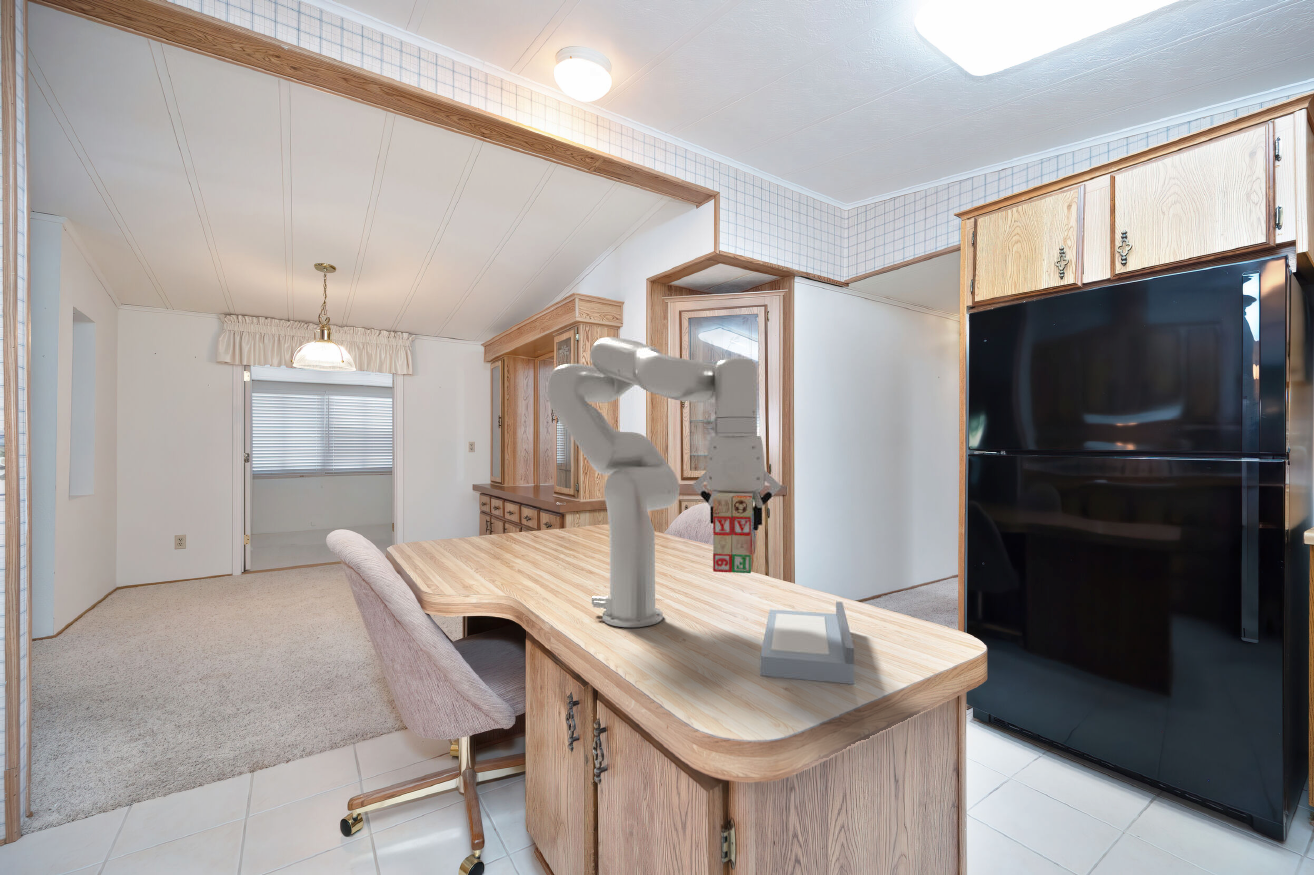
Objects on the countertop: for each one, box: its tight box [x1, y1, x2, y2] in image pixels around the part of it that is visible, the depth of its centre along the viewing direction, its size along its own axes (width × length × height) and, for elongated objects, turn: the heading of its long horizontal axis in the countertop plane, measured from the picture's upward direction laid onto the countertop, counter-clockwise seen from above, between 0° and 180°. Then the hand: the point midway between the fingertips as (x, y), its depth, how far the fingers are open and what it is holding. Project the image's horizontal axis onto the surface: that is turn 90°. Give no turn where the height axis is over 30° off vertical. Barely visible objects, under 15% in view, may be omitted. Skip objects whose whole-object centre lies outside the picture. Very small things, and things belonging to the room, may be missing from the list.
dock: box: [759, 601, 855, 685], centre depth 100 cm, size 14×26×5 cm, turn 166°
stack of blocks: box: [712, 492, 757, 574], centre depth 102 cm, size 21×6×12 cm, turn 168°
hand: (736, 527), depth 101 cm, fingers closed on stack of blocks, 6 cm apart
